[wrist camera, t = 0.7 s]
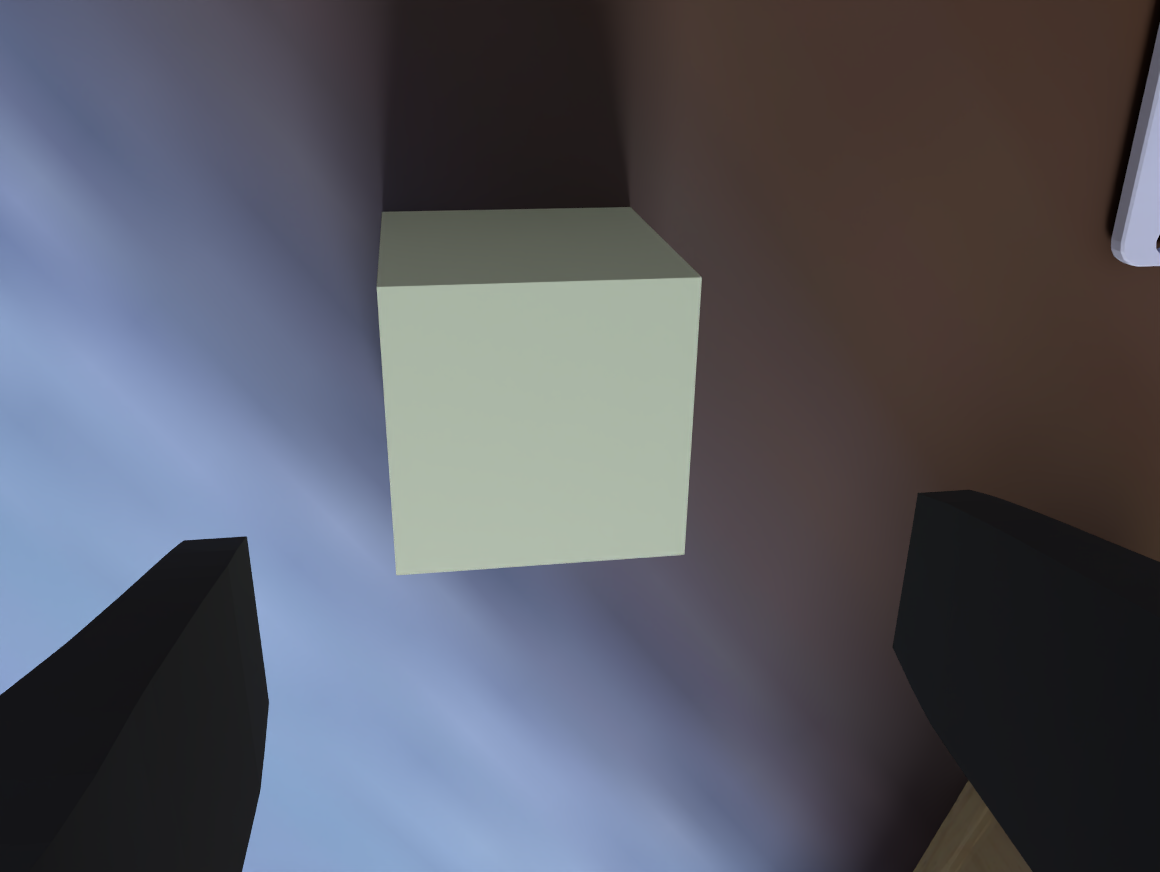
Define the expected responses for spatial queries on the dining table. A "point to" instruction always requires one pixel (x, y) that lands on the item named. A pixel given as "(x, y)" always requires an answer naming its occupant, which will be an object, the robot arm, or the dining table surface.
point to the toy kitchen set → (971, 841)
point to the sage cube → (535, 386)
